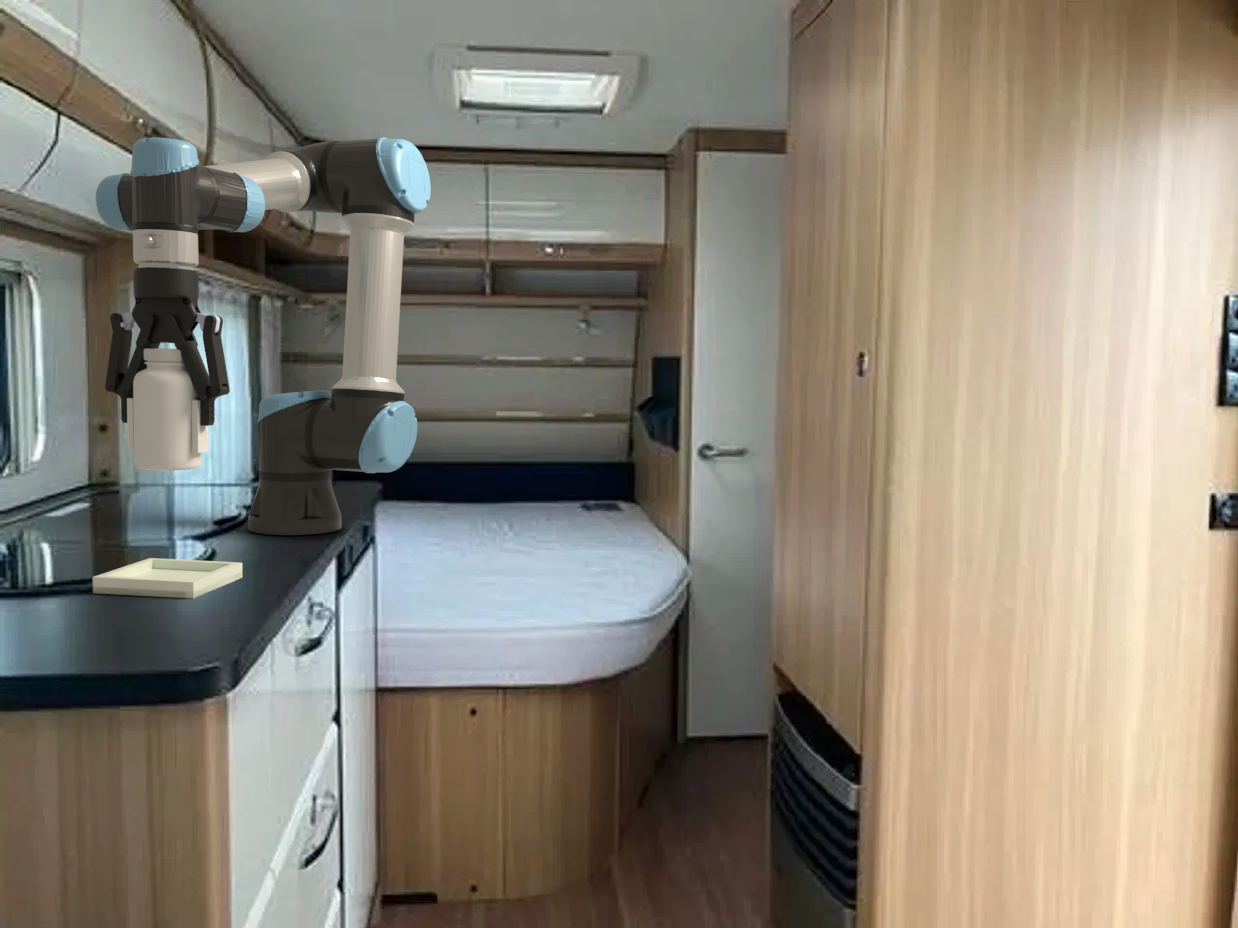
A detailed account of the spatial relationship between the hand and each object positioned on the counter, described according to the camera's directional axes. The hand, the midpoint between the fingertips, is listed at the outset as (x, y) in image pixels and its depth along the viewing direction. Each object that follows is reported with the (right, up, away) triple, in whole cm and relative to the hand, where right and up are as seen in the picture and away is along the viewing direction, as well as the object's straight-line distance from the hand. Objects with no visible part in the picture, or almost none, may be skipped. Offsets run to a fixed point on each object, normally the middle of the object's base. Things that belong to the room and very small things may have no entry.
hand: (168, 450), depth 140 cm
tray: (0, -17, +2) cm, 17 cm away
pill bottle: (0, -2, 0) cm, 2 cm away
